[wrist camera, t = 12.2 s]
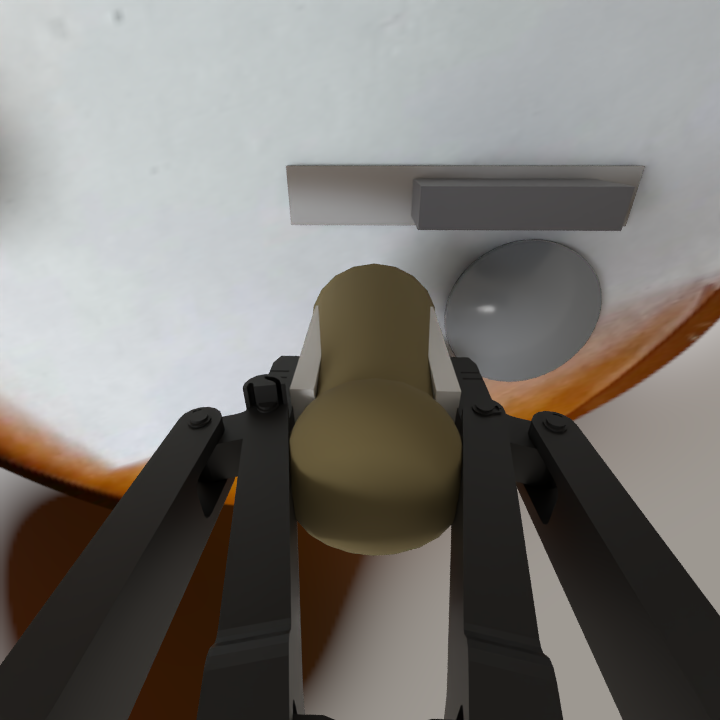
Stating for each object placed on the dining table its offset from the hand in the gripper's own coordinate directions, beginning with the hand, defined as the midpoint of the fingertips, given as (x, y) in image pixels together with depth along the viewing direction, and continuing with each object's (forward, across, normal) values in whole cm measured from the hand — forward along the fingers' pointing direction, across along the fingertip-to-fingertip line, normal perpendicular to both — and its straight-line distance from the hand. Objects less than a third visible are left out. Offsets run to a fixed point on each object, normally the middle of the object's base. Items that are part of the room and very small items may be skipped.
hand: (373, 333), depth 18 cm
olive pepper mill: (+1, 0, 0) cm, 1 cm away
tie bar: (+9, +7, +5) cm, 12 cm away
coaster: (+9, +10, -3) cm, 13 cm away
